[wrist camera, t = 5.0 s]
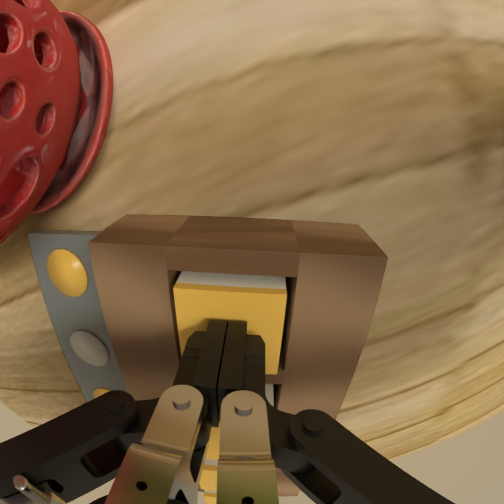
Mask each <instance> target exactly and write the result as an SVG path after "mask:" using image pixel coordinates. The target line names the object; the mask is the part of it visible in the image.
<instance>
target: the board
mask: <svg viewBox="0 0 504 504" xmlns="http://www.w3.org/2000/svg"><path fill="white" fill-rule="evenodd" d="M88 245H89V251H90V256H91V262H92V267H93V272H94V277H95V282H96V286H97V291H98V295H99V299H100V303H101V307H102V311H103V315H104V319H105V323H106V326H107V330H108V334H109V337H110V340H111V344H112V347H113V350H114V353H115V357H116V360H117V363H118V366H119V369H120V372H121V375H122V377H123V380H124V383H125V386H126V388H127V391H128V393H129V394H131V395H132V396H133V398H134V399H135V401H138V400H150V399H156V398H159V397H161V395H162V393H163V392H164V391H165V390H166V389H168V388H170V387H172V385H173V382H174V379H175V376H176V373H177V370H178V366H179V363H180V360H181V357H182V355H181V348H180V341H179V334H178V326H177V318H176V309H175V300H174V291H173V287H174V285H175V284H176V282H177V280H178V278H179V276H180V274H181V272H182V271H190V272H206V273H223V274H241V275H260V276H281V277H286V280H285V282H286V290H287V300H286V309H285V317H284V326H283V334H282V342H281V349H280V357H279V364H278V371H277V374H265V384H273V395H274V407H275V408H276V409H278V410H280V411H283V412H286V413H290V414H294V415H295V414H297V413H298V412H300V411H303V410H307V409H316V410H320V411H323V412H325V413H327V414H328V415H330V416H331V417H332V418H333V419H336V417H337V414H338V412H339V410H340V407H341V405H342V402H343V400H344V398H345V395H346V393H347V390H348V387H349V385H350V382H351V380H352V377H353V374H354V371H355V369H356V366H357V363H358V360H359V357H360V354H361V352H362V349H363V346H364V342H365V339H366V336H367V333H368V330H369V327H370V323H371V320H372V317H373V313H374V310H375V306H376V303H377V299H378V295H379V292H380V288H381V284H382V280H383V276H384V272H385V267H386V263H387V259H388V257H387V256H386V255H385V253H384V252H383V251H382V250H381V249H380V248H379V247H378V246H377V244H376V243H375V242H374V241H373V240H372V239H371V238H370V237H369V235H368V234H367V233H366V232H365V231H364V230H363V229H362V228H361V227H360V226H359V225H352V224H339V223H325V222H310V221H294V220H276V219H257V218H235V217H210V216H177V215H125V216H124V217H122V218H121V219H119V220H118V221H117V222H115V223H114V224H112V225H111V226H110V227H108V228H107V229H105V230H104V231H103V232H101V233H100V234H99V235H97V236H96V237H94V238H93V239H92V240H90V241H89V242H88ZM275 470H276V480H277V489H278V496H297V495H298V493H299V492H300V489H299V488H298V487H297V486H296V485H295V484H294V483H293V482H292V481H291V480H290V479H289V478H288V477H287V476H286V475H285V474H284V473H283V472H282V471H281V469H279V468H275ZM198 491H202V492H204V489H201V487H200V484H199V486H198Z"/></svg>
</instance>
